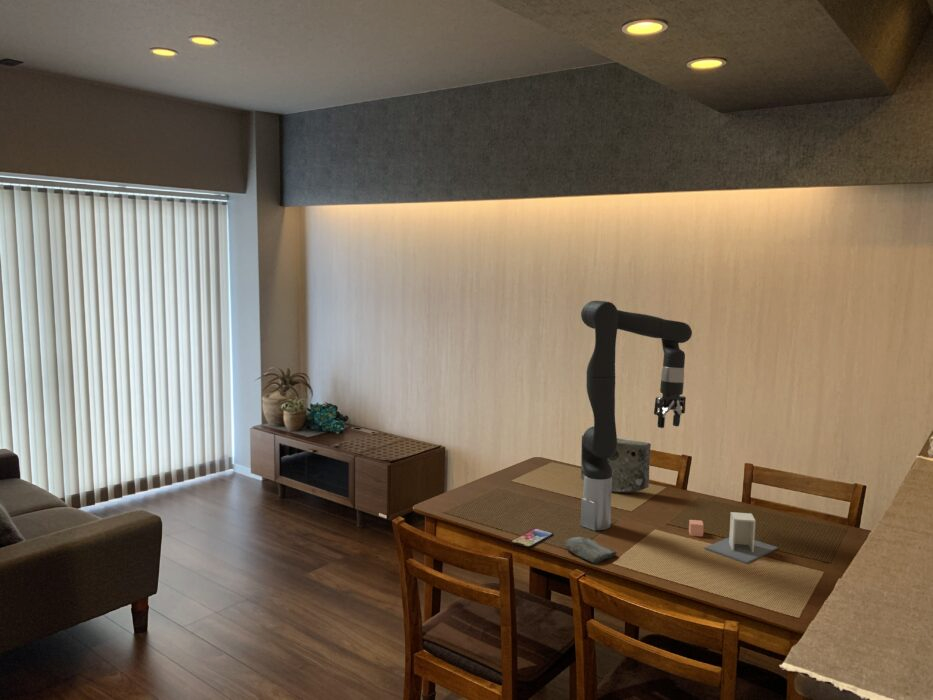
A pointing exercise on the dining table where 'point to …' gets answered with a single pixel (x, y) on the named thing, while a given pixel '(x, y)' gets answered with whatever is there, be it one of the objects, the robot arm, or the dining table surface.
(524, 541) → the smartphone
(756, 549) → the mat
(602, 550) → the stone
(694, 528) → the cube
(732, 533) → the white open box
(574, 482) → the dining table surface
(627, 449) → the concrete block
